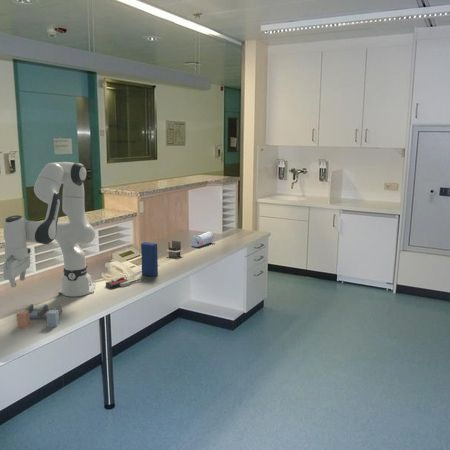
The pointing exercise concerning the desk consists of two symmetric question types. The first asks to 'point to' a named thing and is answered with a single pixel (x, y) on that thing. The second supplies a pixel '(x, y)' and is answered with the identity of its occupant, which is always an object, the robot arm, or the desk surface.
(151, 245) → the blue rectangular block
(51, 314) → the slate-blue plug
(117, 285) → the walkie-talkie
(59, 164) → the robot arm
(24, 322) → the terracotta plug
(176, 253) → the architectural model
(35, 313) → the slot dock
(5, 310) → the desk surface
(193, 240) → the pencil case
